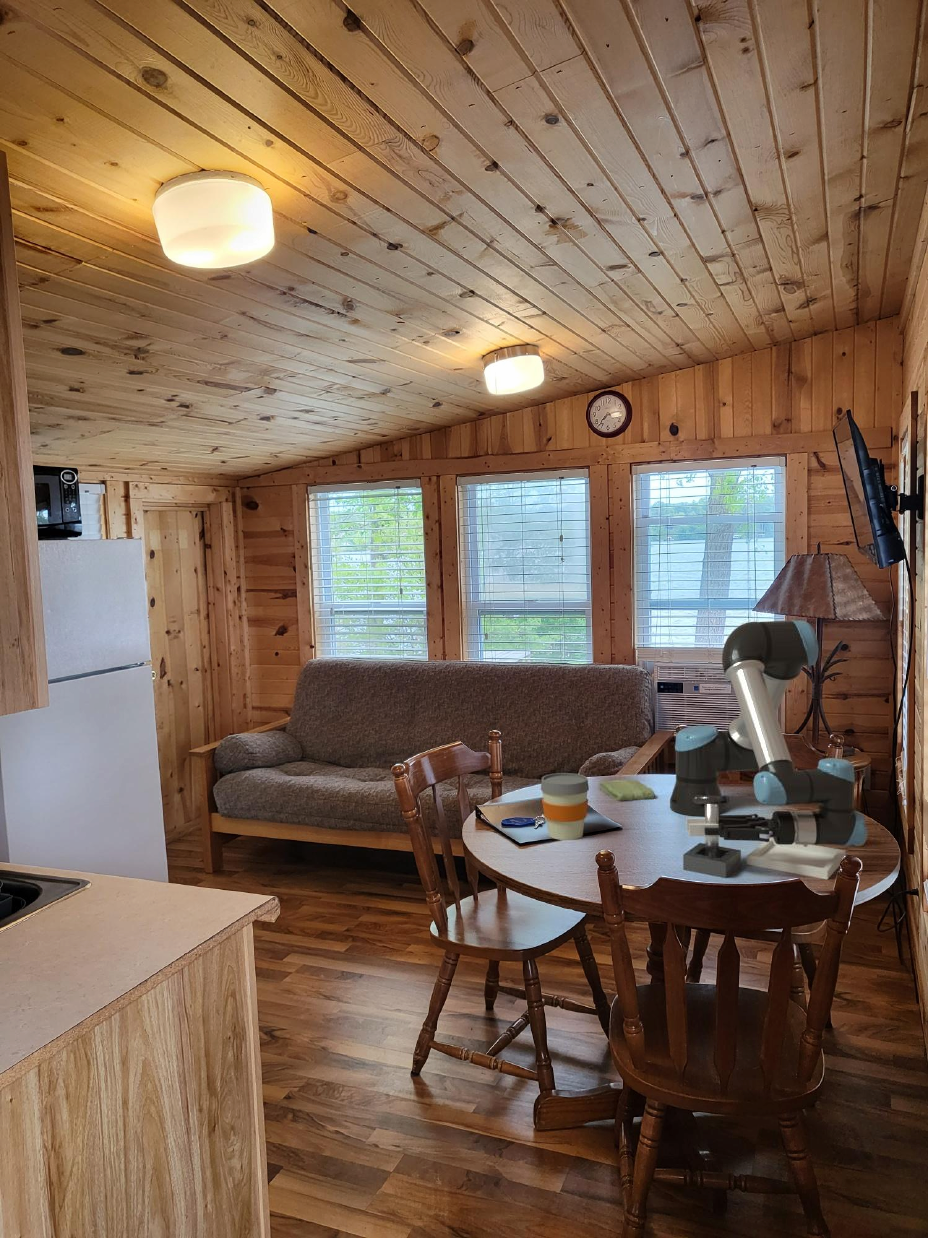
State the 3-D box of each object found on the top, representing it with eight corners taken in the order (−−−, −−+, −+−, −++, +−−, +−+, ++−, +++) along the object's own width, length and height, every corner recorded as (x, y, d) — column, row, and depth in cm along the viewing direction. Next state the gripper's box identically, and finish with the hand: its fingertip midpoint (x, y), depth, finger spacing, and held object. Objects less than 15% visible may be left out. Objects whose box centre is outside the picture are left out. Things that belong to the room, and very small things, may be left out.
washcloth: (636, 785, 279) (636, 775, 278) (657, 800, 261) (657, 790, 261) (596, 788, 276) (596, 778, 276) (615, 803, 259) (615, 793, 259)
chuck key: (695, 866, 202) (694, 797, 201) (693, 861, 205) (692, 794, 204) (731, 866, 201) (730, 797, 200) (729, 861, 204) (728, 794, 203)
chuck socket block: (683, 869, 202) (683, 854, 202) (699, 857, 210) (699, 843, 210) (725, 878, 196) (725, 862, 196) (741, 865, 204) (740, 850, 204)
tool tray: (746, 864, 204) (746, 856, 204) (768, 845, 217) (768, 837, 217) (827, 879, 193) (827, 870, 193) (845, 858, 206) (845, 850, 206)
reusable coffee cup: (556, 845, 222) (555, 787, 221) (533, 831, 233) (532, 776, 232) (598, 837, 227) (597, 780, 226) (574, 824, 238) (573, 770, 237)
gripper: (802, 856, 192) (693, 855, 195) (783, 832, 209) (683, 831, 212) (802, 822, 192) (692, 822, 194) (783, 801, 208) (683, 801, 211)
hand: (688, 827), depth 203 cm, fingers open, 4 cm apart
